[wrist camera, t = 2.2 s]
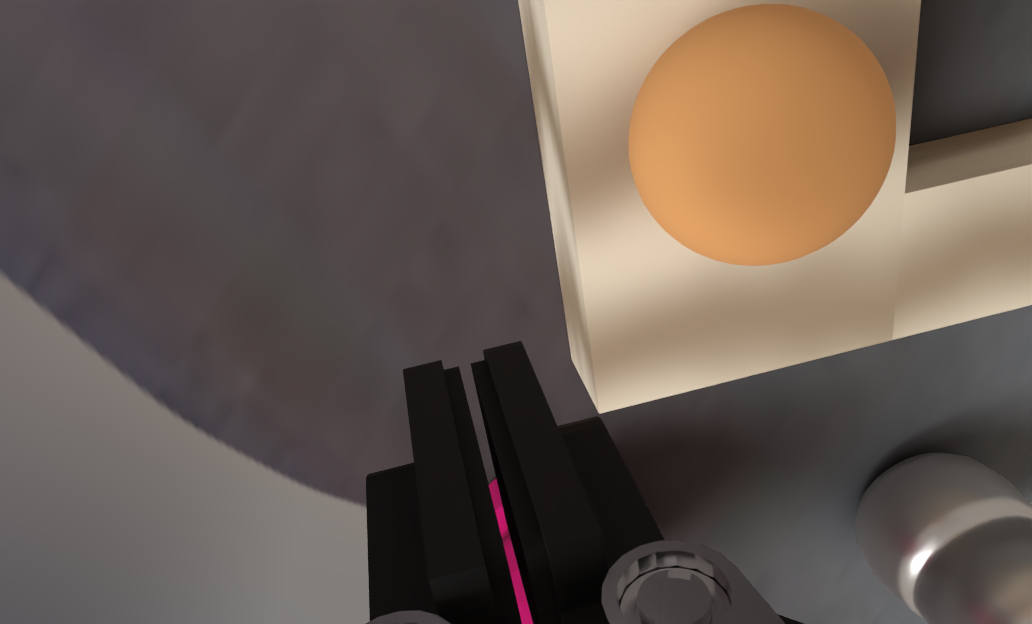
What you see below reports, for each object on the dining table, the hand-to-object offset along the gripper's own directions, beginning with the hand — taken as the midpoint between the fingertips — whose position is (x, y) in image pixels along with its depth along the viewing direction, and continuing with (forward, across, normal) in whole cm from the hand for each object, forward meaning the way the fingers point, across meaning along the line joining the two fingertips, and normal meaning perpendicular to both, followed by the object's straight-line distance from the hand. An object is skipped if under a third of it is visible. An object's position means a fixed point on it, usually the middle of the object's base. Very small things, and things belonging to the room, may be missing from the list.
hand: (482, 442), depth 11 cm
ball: (+8, -8, -1) cm, 11 cm away
